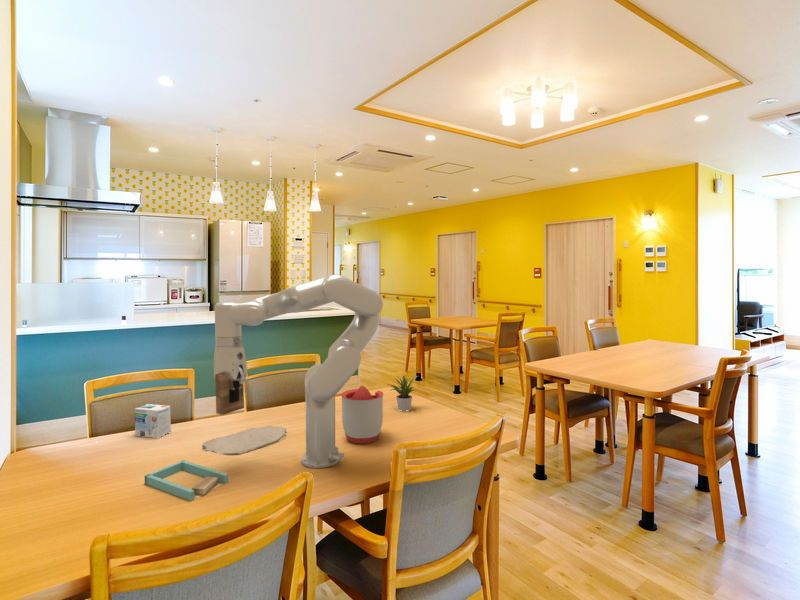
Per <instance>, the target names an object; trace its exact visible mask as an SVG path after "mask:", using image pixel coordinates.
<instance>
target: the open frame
mask: <svg viewBox="0 0 800 600" xmlns="http://www.w3.org/2000/svg"><path fill="white" fill-rule="evenodd" d="M182 471H184V472H187V473H190V474H194V475H196V476H200V477H203V478H205V477H218V483H219V484H223V485H225V484H227V483H229V474H228V473H225V472H222V471H219V470H216V469H213V468H209V467H206V466H203V465H200V464H196V463H193V462H191V461H187V460H183V459H182V460H181V461H178V462H175V463H173V464H170V465H168V466H166V467H163V468H160V469H158V470H155V471H153V472H151V473H147V474H145V475H144V485H146V486H149V487H151V488H154V489H158V490H160V491H163V492H165V493H168V494H171V495H174V496H175V497H179V498H182V499H184V500H186V501H189V502H191V501H193V500H195V497H194V490H192V488H190V487H189V488H188V487H185V486H184V485H181V484H178V483H175V482H173V481H169V480H166V479H164V478H167V477H169V476H172V475H174V474H177V473H179V472H182Z"/></svg>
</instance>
